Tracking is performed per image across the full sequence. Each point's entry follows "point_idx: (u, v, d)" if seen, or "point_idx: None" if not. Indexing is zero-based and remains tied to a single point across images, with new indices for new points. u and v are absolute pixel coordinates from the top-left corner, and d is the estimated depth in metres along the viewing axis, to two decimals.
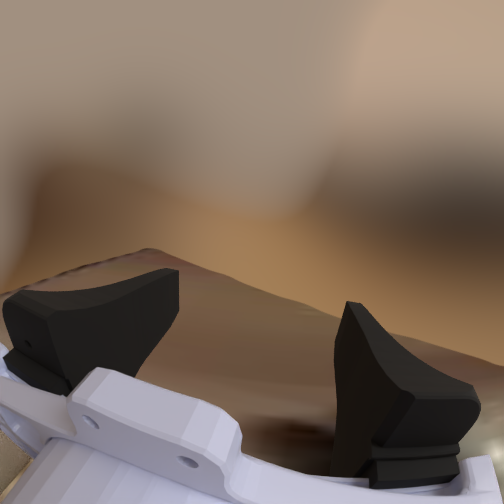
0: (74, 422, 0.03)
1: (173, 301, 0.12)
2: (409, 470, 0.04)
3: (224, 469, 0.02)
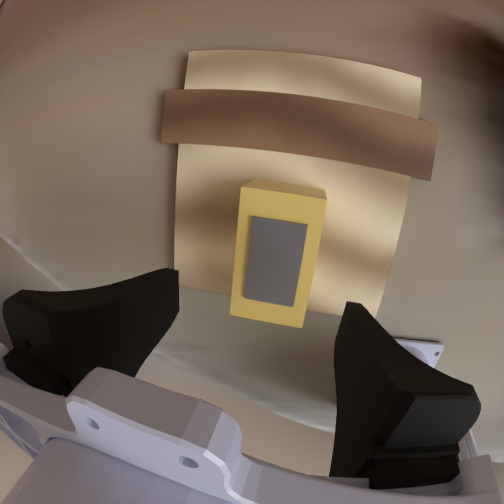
0: (74, 422, 0.03)
1: (173, 301, 0.12)
2: (409, 470, 0.04)
3: (224, 469, 0.02)
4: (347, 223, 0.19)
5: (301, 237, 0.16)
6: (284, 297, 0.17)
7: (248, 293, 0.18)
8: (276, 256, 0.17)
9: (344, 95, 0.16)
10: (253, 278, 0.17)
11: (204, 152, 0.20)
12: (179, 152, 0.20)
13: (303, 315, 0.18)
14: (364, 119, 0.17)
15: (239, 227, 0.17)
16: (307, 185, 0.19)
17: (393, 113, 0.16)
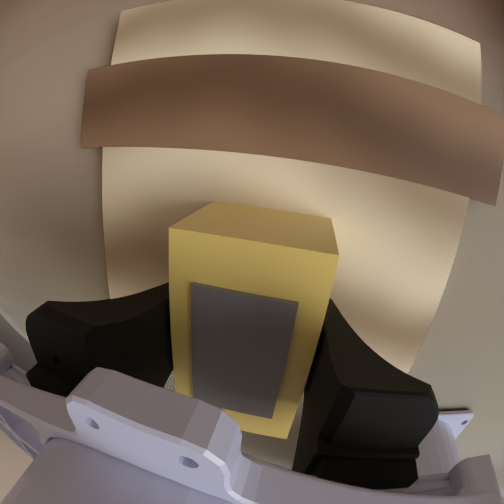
0: (74, 422, 0.03)
1: None
2: (359, 471, 0.05)
3: (224, 469, 0.02)
4: (367, 274, 0.11)
5: (284, 325, 0.08)
6: (257, 407, 0.10)
7: (199, 396, 0.10)
8: (240, 352, 0.09)
9: (365, 57, 0.09)
10: (204, 378, 0.10)
11: (136, 159, 0.12)
12: (104, 160, 0.12)
13: (288, 426, 0.10)
14: (399, 99, 0.09)
15: (173, 299, 0.09)
16: (302, 211, 0.11)
17: (444, 92, 0.08)
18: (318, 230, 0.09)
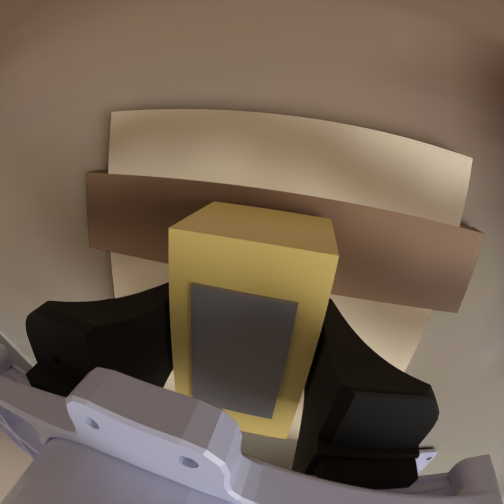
0: (74, 422, 0.03)
1: None
2: (359, 471, 0.05)
3: (224, 469, 0.02)
4: None
5: (284, 325, 0.08)
6: (256, 407, 0.10)
7: (199, 396, 0.10)
8: (239, 352, 0.09)
9: (349, 190, 0.11)
10: (204, 379, 0.10)
11: (142, 268, 0.14)
12: (112, 263, 0.14)
13: (288, 426, 0.10)
14: (377, 231, 0.11)
15: (172, 300, 0.09)
16: None
17: (423, 220, 0.11)
18: (318, 230, 0.09)
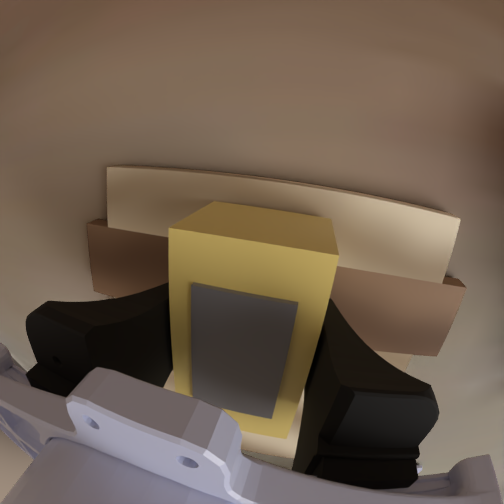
0: (74, 422, 0.03)
1: None
2: (359, 471, 0.05)
3: (224, 469, 0.02)
4: None
5: (284, 325, 0.08)
6: (256, 407, 0.10)
7: (199, 396, 0.10)
8: (240, 352, 0.09)
9: None
10: (204, 378, 0.10)
11: None
12: None
13: (288, 426, 0.10)
14: (362, 291, 0.12)
15: (172, 299, 0.09)
16: None
17: (407, 279, 0.12)
18: (318, 230, 0.09)
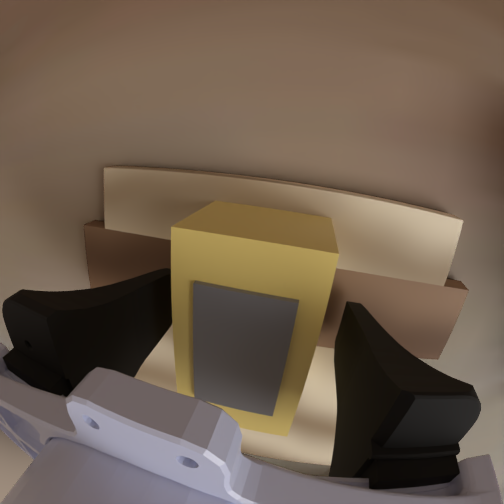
0: (74, 422, 0.03)
1: None
2: (409, 470, 0.04)
3: (224, 469, 0.02)
4: (322, 403, 0.14)
5: (285, 322, 0.08)
6: (257, 404, 0.10)
7: (200, 393, 0.10)
8: (241, 350, 0.09)
9: None
10: (205, 376, 0.10)
11: None
12: None
13: (289, 423, 0.10)
14: (362, 293, 0.12)
15: (175, 298, 0.09)
16: None
17: (408, 282, 0.11)
18: (318, 229, 0.09)
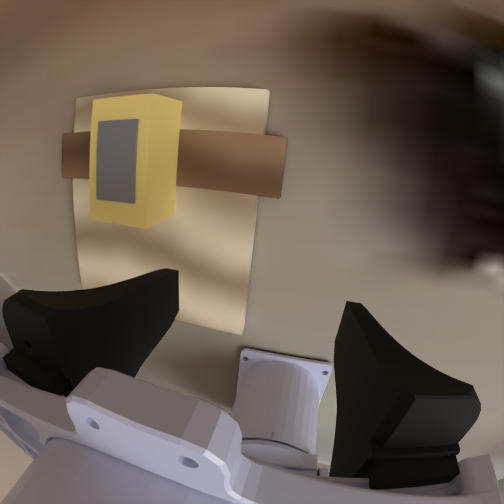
0: (74, 422, 0.03)
1: (173, 301, 0.12)
2: (409, 470, 0.04)
3: (224, 469, 0.02)
4: (197, 243, 0.21)
5: (132, 130, 0.15)
6: (125, 194, 0.16)
7: (99, 194, 0.17)
8: (115, 153, 0.16)
9: (187, 122, 0.18)
10: (101, 178, 0.16)
11: (88, 185, 0.22)
12: (73, 185, 0.22)
13: (145, 213, 0.17)
14: (205, 144, 0.19)
15: (91, 133, 0.16)
16: None
17: (234, 133, 0.18)
18: None
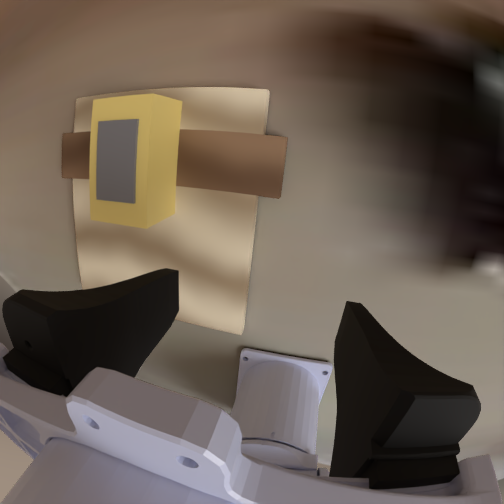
0: (74, 422, 0.03)
1: (173, 301, 0.12)
2: (409, 470, 0.04)
3: (224, 469, 0.02)
4: (197, 243, 0.21)
5: (132, 130, 0.15)
6: (125, 194, 0.16)
7: (99, 194, 0.17)
8: (115, 153, 0.16)
9: (187, 122, 0.18)
10: (101, 178, 0.16)
11: (88, 185, 0.22)
12: (73, 185, 0.22)
13: (145, 213, 0.17)
14: (205, 144, 0.19)
15: (91, 133, 0.16)
16: None
17: (234, 133, 0.18)
18: None
